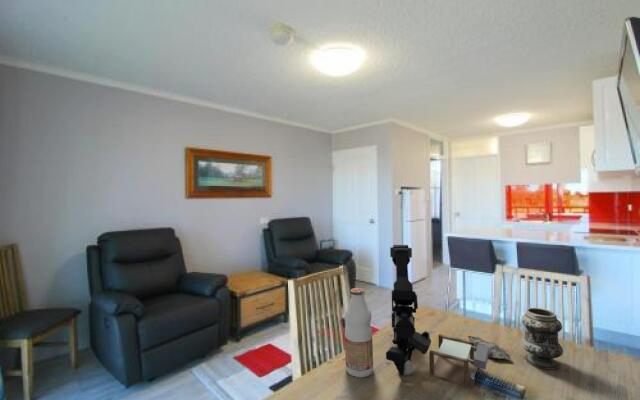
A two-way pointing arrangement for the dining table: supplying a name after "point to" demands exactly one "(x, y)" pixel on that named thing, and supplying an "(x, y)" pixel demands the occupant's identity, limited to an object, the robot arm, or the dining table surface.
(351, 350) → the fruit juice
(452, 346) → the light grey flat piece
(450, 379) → the stand
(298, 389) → the dining table surface
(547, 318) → the apothecary jar
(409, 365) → the garlic
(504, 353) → the mineral rock
